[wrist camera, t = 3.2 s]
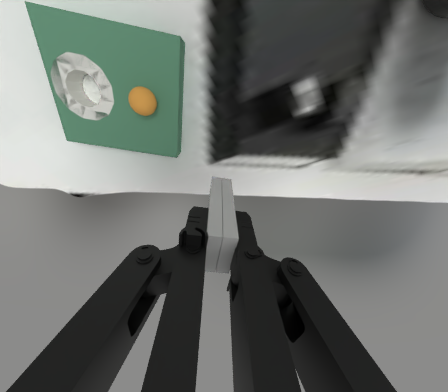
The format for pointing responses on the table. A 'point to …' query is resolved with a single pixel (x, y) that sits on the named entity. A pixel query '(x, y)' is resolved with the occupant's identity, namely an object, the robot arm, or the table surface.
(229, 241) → the robot arm
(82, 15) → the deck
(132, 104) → the ball
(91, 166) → the table surface
